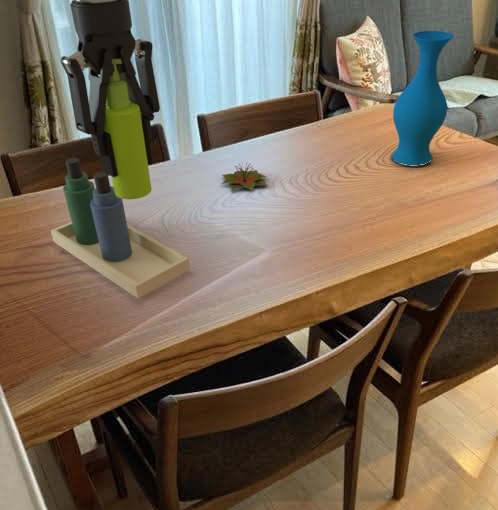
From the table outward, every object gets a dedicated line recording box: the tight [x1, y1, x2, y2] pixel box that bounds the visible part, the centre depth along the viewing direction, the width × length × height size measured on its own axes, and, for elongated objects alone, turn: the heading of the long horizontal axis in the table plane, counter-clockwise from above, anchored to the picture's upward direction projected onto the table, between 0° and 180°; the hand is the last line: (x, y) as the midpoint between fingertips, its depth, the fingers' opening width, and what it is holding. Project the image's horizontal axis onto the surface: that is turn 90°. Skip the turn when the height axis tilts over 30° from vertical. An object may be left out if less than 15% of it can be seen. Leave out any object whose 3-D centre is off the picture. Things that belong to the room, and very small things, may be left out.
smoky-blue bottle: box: [90, 171, 132, 262], centre depth 97 cm, size 6×6×16 cm
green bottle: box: [62, 157, 99, 245], centre depth 102 cm, size 6×6×16 cm
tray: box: [50, 221, 190, 299], centre depth 101 cm, size 28×12×3 cm, turn 46°
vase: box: [391, 30, 455, 168], centre depth 125 cm, size 12×13×28 cm
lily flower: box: [220, 162, 269, 192], centre depth 125 cm, size 12×12×5 cm
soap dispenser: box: [83, 58, 153, 200], centre depth 80 cm, size 6×7×20 cm
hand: (128, 167), depth 84 cm, fingers closed on soap dispenser, 6 cm apart
